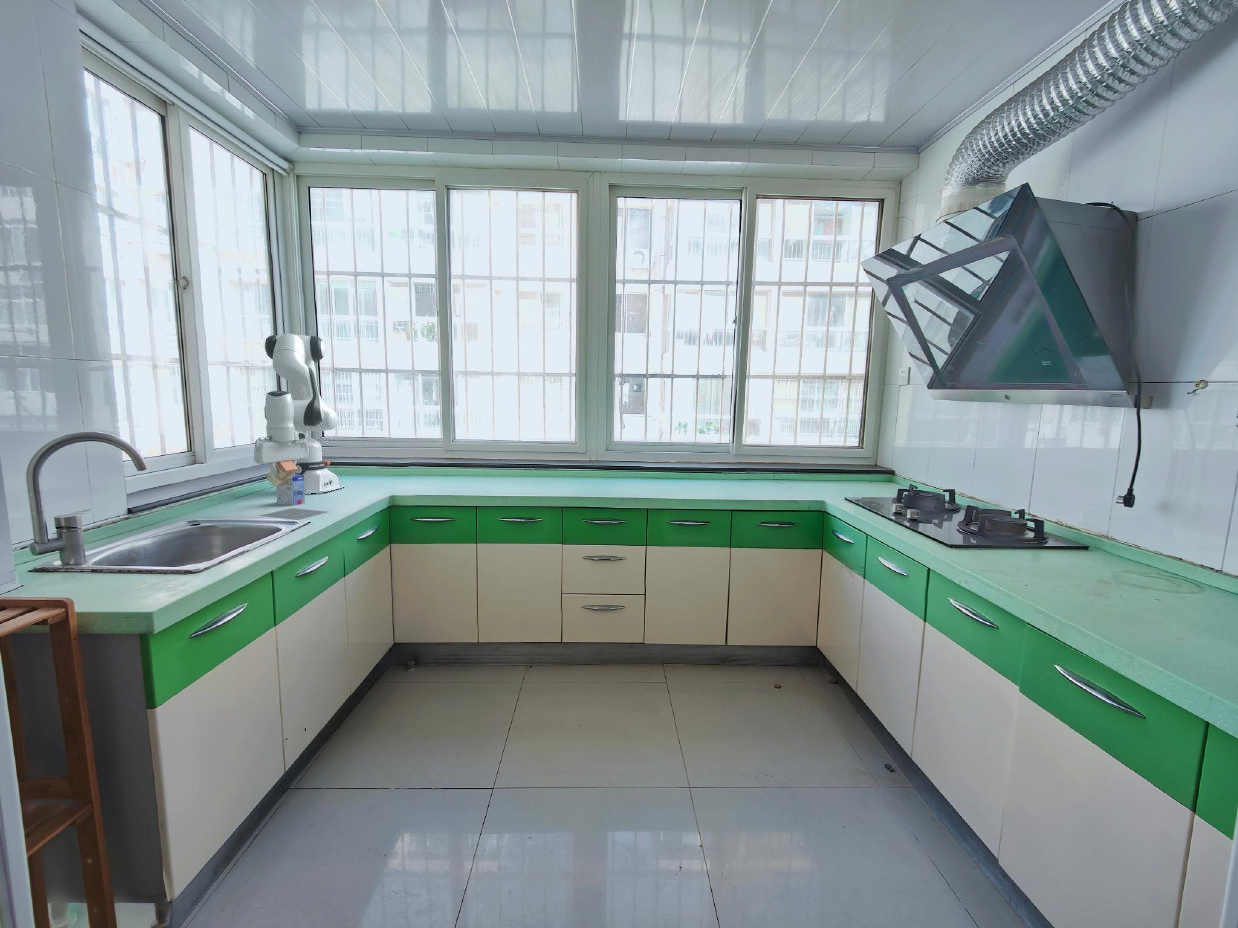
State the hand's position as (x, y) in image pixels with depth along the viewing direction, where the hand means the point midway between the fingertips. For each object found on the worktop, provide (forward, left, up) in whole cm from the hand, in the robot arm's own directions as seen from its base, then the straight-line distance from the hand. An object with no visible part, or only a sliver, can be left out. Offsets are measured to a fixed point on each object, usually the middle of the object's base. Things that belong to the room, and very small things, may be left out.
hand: (283, 473), depth 198 cm
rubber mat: (-2, +2, -16) cm, 16 cm away
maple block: (0, -4, -3) cm, 5 cm away
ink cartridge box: (-16, -15, -16) cm, 27 cm away
